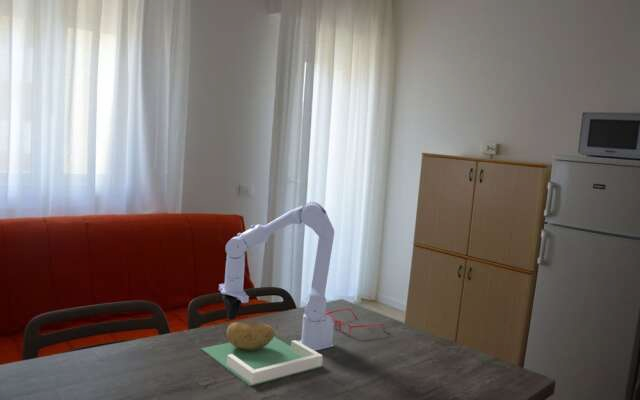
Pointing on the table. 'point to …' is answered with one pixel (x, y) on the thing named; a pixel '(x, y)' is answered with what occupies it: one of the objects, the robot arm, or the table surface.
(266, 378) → the white angular frame
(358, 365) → the table surface
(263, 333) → the potato
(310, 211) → the robot arm
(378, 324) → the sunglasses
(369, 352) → the table surface
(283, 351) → the green mat
